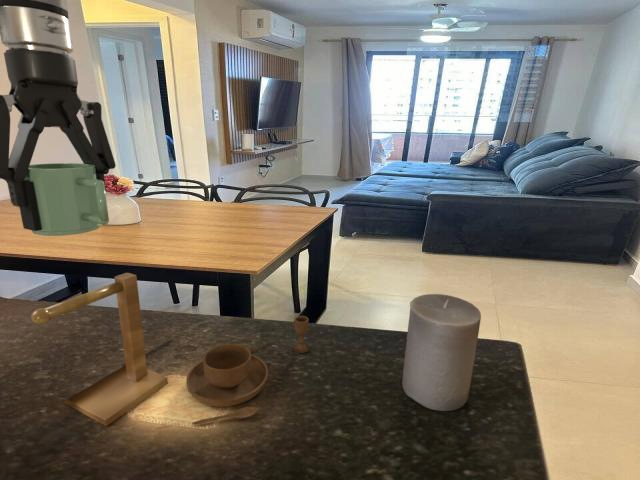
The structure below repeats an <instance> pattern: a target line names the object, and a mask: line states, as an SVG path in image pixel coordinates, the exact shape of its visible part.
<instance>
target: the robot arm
mask: <svg viewBox="0 0 640 480" xmlns="http://www.w3.org/2000/svg"><path fill="white" fill-rule="evenodd" d="M0 42H1V44H2V45H3V46H5V47H7V48H8V49H6V50H5V52H3V56H4V57H3V58H4V62H5V67H6V73H7V78H8V81H9V83H10V90H9V92H8V94H0V180H4V181H5V182H6V183H7V188H8V194H9V198H10V203H11V204H12V206H13V207H19V212H20V217H21V222H22V227H23V229H24V230H29V231H32V230H33V231H39V230H41V225H40V219H39V213H38V208H37V202H36V197H35V191H34V186H33V182H32V181H25V177H26V174H27V171H28V168H29V165H31V163H32V160H33V159H32V158H33V156H34V152H35V150H36V146H37V143H38V140H39V137H40V135H41V134H42V133H43V132H44V130H45V128H59V129H60V131H61V132H63V133H64V134H65V135H66V138H67V139H68V140H69V142H70V144H71V145H72V147H73V148H74V150H75V152H76V154H77V155H78V156H79V159H80V160H81V161H82V164H92V165H95V172H96V179H97V180H102V181H103V182H104V185H105V193H107V187H106V179H105V175H108V174H109V172H110V170H114V169H115V168H116V161H115V158H114V154H113V152H112V149H111V145H110V142H109V139H108V135H107V132H106V128H105V125H104V123H103V120H102V104H101V103H100V102H99V101H86V100H83V99H81V97H80V95H79V93H78V85H79V79H78V72H77V65H76V60H75V59H74V58H73V57H72V56H70V54H72V53H74V47H73V40H72V31H71V25H70V19H69V7H68V0H0ZM13 107H15V109H16V110H17V111H18V112H19V113H20V114H21V115H20V118H19V121H18V124H17V128H18V130H17V134H16V137H15V140H14V143H13V145H12V148H11V152H10V143H11V142H10V139H11V114H10V113H12V110H13ZM78 113H80V114H81V115H82V117H83V123H84V125H85V128H86V132H87V134H88V136H87V134H86V133H85V131H84V130H85V129H84V126H83V124H82V122H81V121H80V119H79V117H78Z"/></svg>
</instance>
